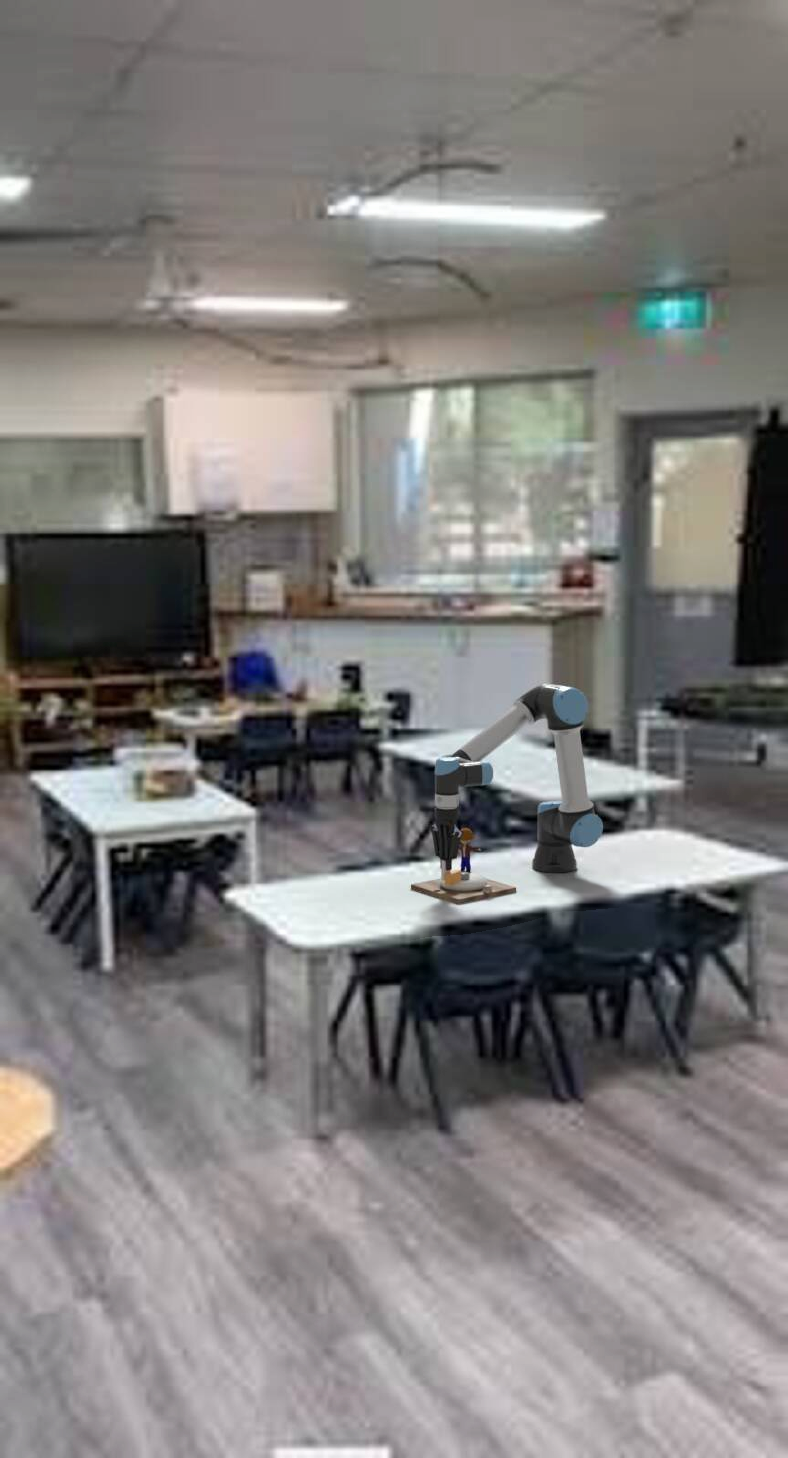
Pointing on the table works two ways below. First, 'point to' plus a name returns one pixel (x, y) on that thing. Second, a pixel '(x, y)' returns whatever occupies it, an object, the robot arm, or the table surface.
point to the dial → (463, 881)
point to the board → (463, 896)
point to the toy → (466, 849)
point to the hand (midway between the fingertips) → (445, 879)
